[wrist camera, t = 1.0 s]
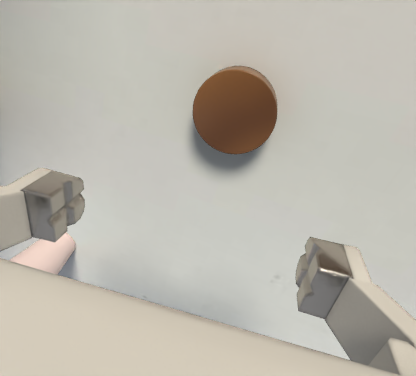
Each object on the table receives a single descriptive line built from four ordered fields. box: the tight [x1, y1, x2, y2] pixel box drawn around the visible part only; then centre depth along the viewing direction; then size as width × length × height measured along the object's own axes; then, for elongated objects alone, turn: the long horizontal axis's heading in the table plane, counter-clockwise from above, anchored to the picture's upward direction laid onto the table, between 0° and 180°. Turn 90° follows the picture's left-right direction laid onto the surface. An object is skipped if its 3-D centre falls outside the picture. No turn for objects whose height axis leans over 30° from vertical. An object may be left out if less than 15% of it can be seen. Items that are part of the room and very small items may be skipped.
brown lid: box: [193, 66, 277, 154], centre depth 24 cm, size 7×7×2 cm
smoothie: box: [9, 233, 75, 275], centre depth 31 cm, size 6×6×14 cm
